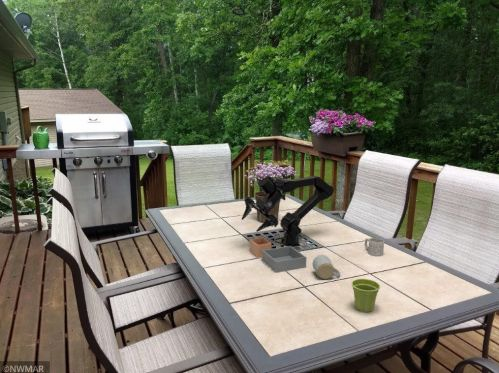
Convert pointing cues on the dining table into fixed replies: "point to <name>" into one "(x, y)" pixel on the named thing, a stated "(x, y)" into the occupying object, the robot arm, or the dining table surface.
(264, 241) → the small crate
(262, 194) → the plant pot
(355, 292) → the plant pot
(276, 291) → the dining table surface
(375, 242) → the mug
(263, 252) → the big crate
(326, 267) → the ceramic mug
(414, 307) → the dining table surface
